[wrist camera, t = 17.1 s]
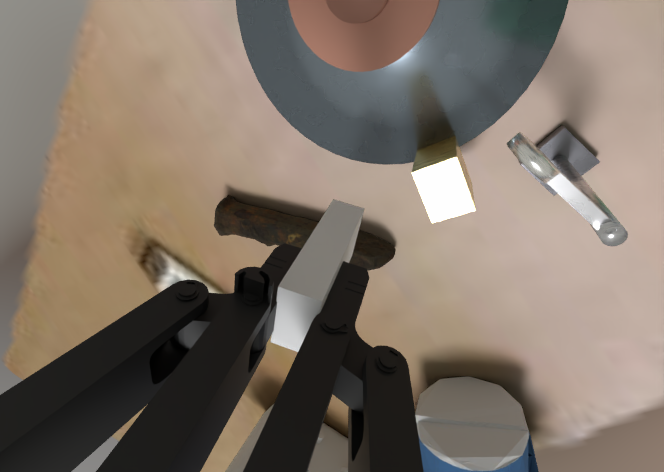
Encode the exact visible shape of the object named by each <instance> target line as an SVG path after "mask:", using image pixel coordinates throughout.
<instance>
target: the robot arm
mask: <svg viewBox="0 0 664 472" xmlns="http://www.w3.org/2000/svg"><path fill="white" fill-rule="evenodd" d="M363 212H364V208H361V207H358V206H354V205H351V204H348V203H344V202H341V201H338V200H334V199H333V201H332V202H331V204H330V206H329V207H328V209H327V210H326V212H325V213H324V215H323V217H322V218H321V220H320V221H319V223H318V224H317V226H316V228H315V229H314V231H313V232H312V234H311V235H310V237H309V239H308V240H307V242H306V243H305V245H304V247H303V248H299V247H296V246H292V245H289V244H286V243H284V244H282V245H280V246H278V247H277V248H275V249H274V251H273V252H272V253H271V255H270V256H269V257H268V259H267V260H266V261H265V264H263V265H262V267H261V268H259V267H246V268H243V269H240V270H239V271H238V272H236V273H235V287H234V293H231V294H218V293H209V292H208V289H207V287H206V286H205V285H204V284H203V283H201V282H199V281H196V280H184V281H179V282H177V283H175V284H173V285H171V286H170V287H168V288H166V289H165V290H163V291H162V292H160V293H159V294H157V295H156V296H154V297H152V298H151V299H149V300H148V301H146V302H145V303H143V304H142V305H140V306H138V307H137V308H135V309H134V310H132V311H131V312H129V313H127V314H126V315H124V316H123V317H121V318H120V319H118V320H117V321H115V322H113V323H112V324H110V325H109V326H107V327H106V328H104V329H103V330H101V331H99V332H98V333H96V334H95V335H93V336H92V337H90V338H88V339H87V340H85V341H84V342H82V343H81V344H79V345H78V346H76V347H74V348H73V349H71V350H70V351H68V352H67V353H65V354H64V355H62V356H60V357H59V358H57V359H56V360H54V361H53V362H51V363H49V364H48V365H46V366H45V367H43V368H42V369H40V370H39V371H37V372H35V373H34V374H32V375H31V376H29V377H28V378H26V379H25V380H23V381H21V382H20V383H18V384H17V385H15V386H14V387H12V388H10V389H9V390H7V391H6V392H4V393H3V394H1V395H0V472H71V471H72V470H73V469H75V468H76V467H77V466H78V465H79V464H80V463H81V462H83V461H84V460H85V459H86V458H87V457H88V456H89V455H90V454H92V453H93V452H94V451H95V450H96V449H97V448H98V447H99V446H101V445H102V444H103V443H104V442H105V441H106V440H107V439H109V437H111V436H112V435H113V434H114V433H115V432H116V431H118V430H119V429H120V428H121V427H122V426H123V425H124V424H126V423H127V422H128V421H129V420H130V419H131V418H132V417H133V416H135V415H136V414H137V413H138V412H139V411H140V410H141V409H142V408H144V407H145V406H146V405H147V404H148V405H147V406H146V407H145V409H144V410H143V411H142V413H141V414H140V415H139V416H138V418H137V419H136V420H135V422H134V423H133V424H132V426H131V427H130V428H129V429H128V431H127V432H126V433H125V435H124V436H123V437H122V439H121V440H120V441H119V442H118V444H117V445H116V446H115V448H114V449H113V450H112V452H111V453H110V454H109V456H108V457H107V458H106V459H105V461H104V462H103V463H102V465H101V466H100V467H99V468H98V470H97V471H96V472H200V471H201V469H202V467H203V465H204V464H205V462H206V460H207V458H208V456H209V455H210V453H211V451H212V449H213V447H214V445H215V444H216V442H217V440H218V438H219V436H220V434H221V433H222V431H223V429H224V427H225V425H226V423H227V422H228V420H229V418H230V416H231V414H232V412H233V411H234V409H235V407H236V405H237V403H238V402H239V400H240V398H241V396H242V394H243V392H244V391H245V389H246V387H247V385H248V383H249V381H250V380H251V378H252V376H253V374H254V372H255V370H256V369H257V367H258V365H259V363H260V361H261V359H262V358H263V356H264V354H265V350H266V344H267V341H268V340H269V338H270V336H271V334H272V337H271V342H272V343H275V344H277V345H280V346H283V347H286V348H288V349H291V350H294V351H297V352H298V353H297V356H296V358H295V360H294V362H293V364H292V366H291V369H290V371H289V373H288V375H287V377H286V379H285V382H284V384H283V386H282V388H281V390H280V392H279V395H278V397H277V399H276V401H275V403H274V405H273V408H272V410H271V412H270V414H269V416H268V418H267V421H266V423H265V425H264V427H263V429H262V431H261V434H260V436H259V438H258V440H257V442H256V444H255V447H254V449H253V451H252V453H251V455H250V457H249V460H248V462H247V464H246V466H245V468H244V470H243V472H307V471H308V468H309V464H310V461H311V458H312V455H313V452H314V449H315V446H316V443H317V440H318V437H319V434H320V431H321V427H322V424H323V421H324V418H325V415H326V412H327V409H328V406H329V403H330V400H331V397H332V394H333V395H335V396H336V397H337V398H338V399H340V400H341V401H342V402H344V403H345V404H346V405H347V406H349V412H348V472H424V471H423V464H422V457H421V450H420V443H419V436H418V429H417V423H416V416H415V409H414V402H413V395H412V388H411V382H410V375H409V368H408V364H407V361H406V359H405V358H404V357H403V355H402V354H401V353H400V352H398V351H397V350H395V349H394V348H391V347H388V346H376V347H374V348H373V347H371V346H370V345H368V344H367V343H365V342H364V341H363V340H362V339H361V338H360V337H359V335H358V334H357V332H356V329H355V322H356V319H357V316H358V312H359V309H360V306H361V303H362V300H363V297H364V293H365V290H366V287H367V284H368V280H369V275H368V271H367V269H366V268H363V267H360V266H357V265H354V264H351V263H349V262H350V259H351V257H352V254H353V250H354V246H355V243H356V239H357V235H358V231H359V227H360V224H361V220H362V216H363Z"/></svg>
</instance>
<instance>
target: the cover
mask: <svg viewBox="0 0 664 472" xmlns="http://www.w3.org/2000/svg"><path fill="white" fill-rule="evenodd" d="M439 2H440V0H288V3H289V8H290V12H291V15H292V18H293V21H294V23H295V26H296V28H297V30H298V32H299V34H300V36H301V37H302V39H303V40H304V42H305V43H306V44H307V46H308V47H309V48H310V49H311V50H312V51H313V52H314V53H315V54H316V55H317V56H318V57H319V58H321V59H322V60H324V61H325V62H327V63H328V64H330V65H332V66H334V67H337V68H340V69H343V70H347V71H352V72H366V71H373V70H377V69H381V68H383V67H385V66H388V65H390V64H392V63H394V62H395V61H397V60H399V59H400V58H401V57H403V56H404V55H405V54H406V53H408V52H409V51H410V50H411V49H412V48H413V47H414V46H415V45H416V44H417V43H418V42H419V41H420V40H421V38H422V37H423V36H424V35H425V33H426V32H427V30H428V28H429V27H430V25H431V23H432V21H433V19H434V17H435V14H436V12H437V9H438V6H439Z"/></svg>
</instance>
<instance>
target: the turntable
mask: <svg viewBox="0 0 664 472" xmlns="http://www.w3.org/2000/svg"><path fill="white" fill-rule="evenodd" d="M567 4H568V0H440V2H439V6H438V9H437V12H436V14H435V17H434V19H433V21H432V23H431V25H430V27H429V28H428V30H427V32H426V33H425V35H424V36H423V37H422V38H421V40H420V41H419V42H418V43H417V44H416V45H415V46H414V47H413V48H412V49H411V50H410V51H409V52H408V53H406V54H405V55H404V56H403V57H401V58H400V59H399V60H397V61H395V62H394V63H392V64H390V65H388V66H385V67H383V68H381V69H377V70H373V71H366V72H352V71H347V70H343V69H340V68H337V67H334V66H332V65H330V64H328V63H327V62H325V61H324V60H322V59H321V58H319V57H318V56H317V55H316V54H315V53H314V52H313V51H312V50H311V49H310V48H309V47H308V46H307V44H306V43H305V42H304V40H303V39H302V37H301V36H300V34H299V32H298V30H297V28H296V26H295V23H294V21H293V18H292V15H291V12H290V8H289V3H288V0H236V7H237V15H238V22H239V26H240V31H241V36H242V40H243V43H244V46H245V50H246V53H247V56H248V59H249V61H250V64H251V66H252V68H253V70H254V73H255V75H256V77H257V79H258V81H259V83H260V85H261V86H262V88H263V90H264V91H265V93H266V95H267V96H268V98H269V99H270V101H271V102H272V103H273V105H274V106H275V107H276V109H277V110H278V111H279V112H280V113H281V115H282V116H283V117H284V118H285V119H286V120H287V121H288V122H289V123H290V124H291V125H292V126H293V127H294V128H295V129H297V130H298V131H299V132H300V133H301V134H303V135H304V136H305V137H306V138H308V139H309V140H311V141H313V142H314V143H316V144H317V145H319V146H320V147H322V148H324V149H326V150H328V151H330V152H332V153H334V154H337V155H340V156H343V157H346V158H349V159H352V160H356V161H361V162H366V163H374V164H405V163H410V162H414V165H413V170H412V175H413V177H414V180H415V182H416V185H417V187H418V190H419V192H420V195H421V197H422V200H423V202H424V205H425V207H426V210H427V212H428V215H429V217H430V219H431V222H432V223H434V222H438V221H441V220H444V219H448V218H451V217H455V216H458V215H462V214H465V213H469V212H472V211H475V203H474V196H473V189H472V182H471V179H470V177H469V174H468V171H467V168H466V165H465V162H464V159H463V156H462V153H461V150H460V146H461V145H463V144H465V143H466V142H468V141H470V140H472V139H473V138H475V137H477V136H478V135H479V134H481V133H482V132H483V131H485V130H486V129H487V128H489V127H490V126H491V125H493V124H494V123H495V122H496V121H497V120H498V119H499V118H500V117H502V116H503V115H504V114H505V113H506V112H507V111H508V110H509V109H510V108H511V107H512V106H513V105H514V103H515V102H516V101H517V100H518V99H519V98H520V96H521V95H522V94H523V93H524V92H525V90H526V89H527V88H528V86H529V85H530V83H531V82H532V81H533V79H534V78H535V76H536V75H537V73H538V72H539V70H540V69H541V67H542V65H543V63H544V61H545V59H546V58H547V56H548V54H549V52H550V50H551V48H552V46H553V44H554V42H555V39H556V37H557V34H558V31H559V29H560V26H561V24H562V21H563V19H564V15H565V11H566V8H567Z"/></svg>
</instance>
